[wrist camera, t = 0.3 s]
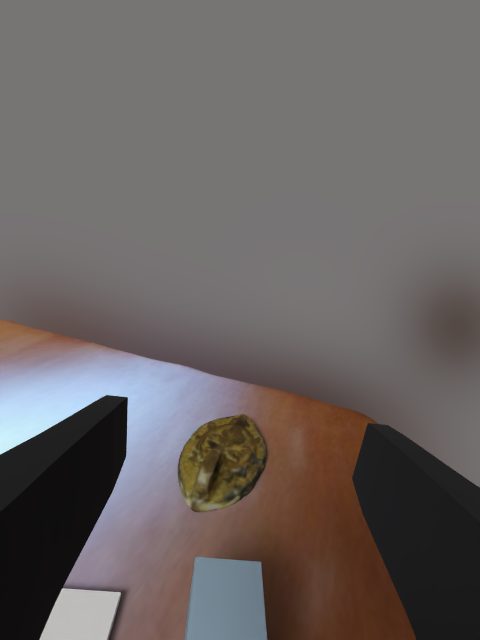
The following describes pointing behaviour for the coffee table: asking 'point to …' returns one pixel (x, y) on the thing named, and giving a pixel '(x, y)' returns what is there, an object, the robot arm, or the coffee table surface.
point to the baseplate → (82, 615)
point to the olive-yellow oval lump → (221, 463)
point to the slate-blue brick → (226, 601)
